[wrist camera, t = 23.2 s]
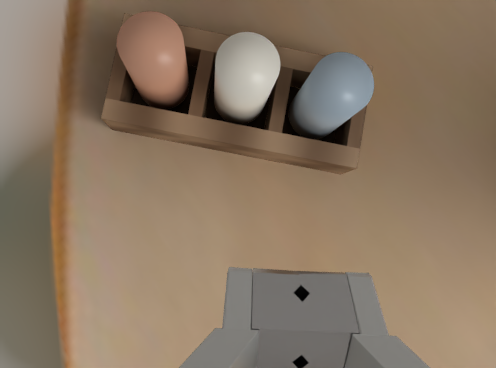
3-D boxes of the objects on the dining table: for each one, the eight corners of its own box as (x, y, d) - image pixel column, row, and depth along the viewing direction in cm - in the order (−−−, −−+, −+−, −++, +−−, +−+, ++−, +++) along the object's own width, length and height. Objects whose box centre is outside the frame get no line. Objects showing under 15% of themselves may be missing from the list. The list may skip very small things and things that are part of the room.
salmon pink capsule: (167, 49, 36) (155, -2, 28) (199, 88, 35) (197, 48, 28) (126, 79, 35) (102, 37, 27) (159, 119, 35) (145, 88, 27)
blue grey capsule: (315, 80, 36) (345, 39, 28) (347, 118, 36) (386, 88, 28) (278, 110, 36) (298, 77, 28) (310, 149, 36) (339, 127, 28)
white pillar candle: (242, 64, 36) (252, 19, 28) (274, 103, 36) (293, 68, 28) (203, 95, 35) (201, 57, 28) (235, 134, 35) (243, 108, 27)
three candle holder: (112, 129, 36) (100, 118, 32) (133, 35, 37) (124, 13, 33) (341, 174, 38) (357, 168, 34) (356, 82, 38) (372, 66, 35)
